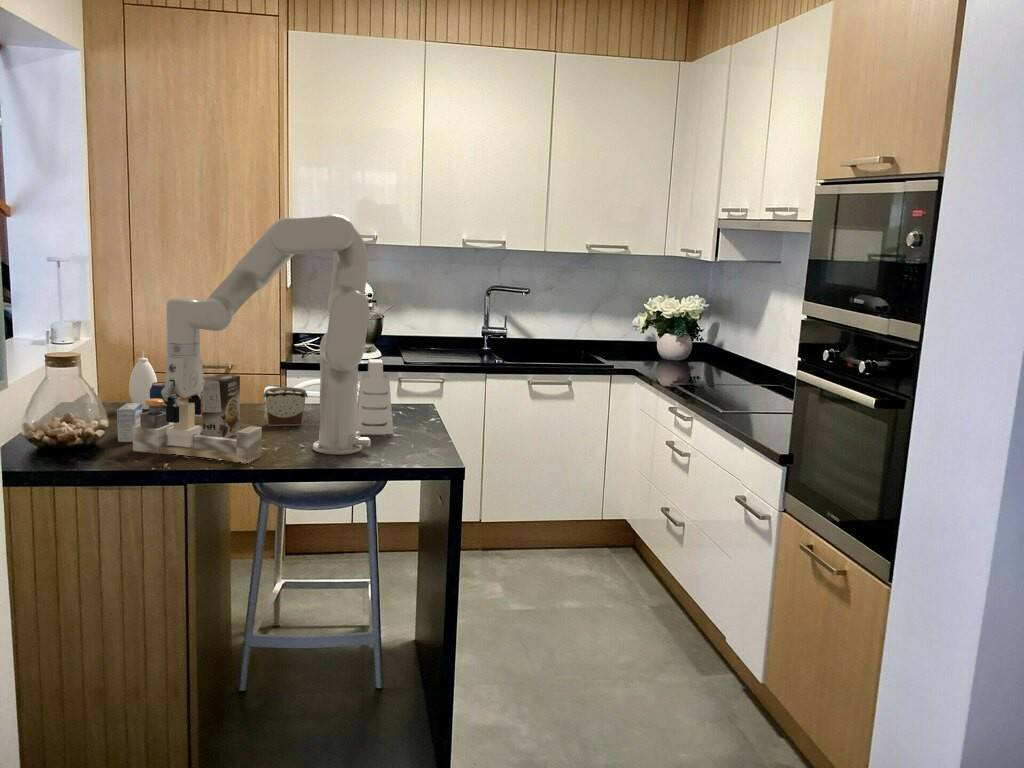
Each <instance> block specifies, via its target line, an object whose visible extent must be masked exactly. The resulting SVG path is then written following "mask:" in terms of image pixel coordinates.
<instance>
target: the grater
mask: <svg viewBox="0 0 1024 768" xmlns="http://www.w3.org/2000/svg"><path fill="white" fill-rule="evenodd" d="M390 383H391V382H390V377H389V374H388V373H384V361H383V360H382V359H381V358H380V359H377V358H376V359H375V358H372V359H371V358H369V359H368V363H367V373H366V372H365V373H360V382H359V388H358V389H359V390H358V394H357V426H356V431H359V432H360V435H386V434H393V435H394V424H393V423H394V422H393V411H392V410H393V409H392V399H391V398H392V397H391V386H390V385H391V384H390Z"/></svg>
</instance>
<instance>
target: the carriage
mask: <svg viewBox="0 0 1024 768" xmlns="http://www.w3.org/2000/svg"><path fill="white" fill-rule="evenodd" d="M177 406H179V422H178V423H173V426H172V427H169V428H166V435H168V445H173V446H182V447H193V435H201V433H202V425H196V424H195V423H196V421H195V419H196V416H195V403H189V402H188V401H179V403H178V405H177Z"/></svg>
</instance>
